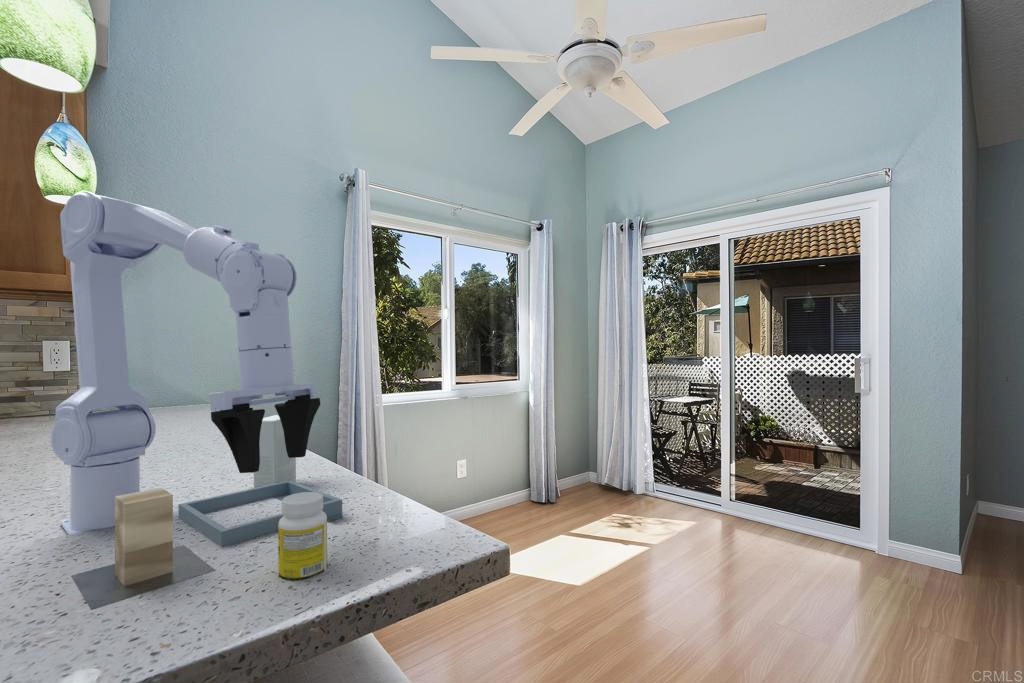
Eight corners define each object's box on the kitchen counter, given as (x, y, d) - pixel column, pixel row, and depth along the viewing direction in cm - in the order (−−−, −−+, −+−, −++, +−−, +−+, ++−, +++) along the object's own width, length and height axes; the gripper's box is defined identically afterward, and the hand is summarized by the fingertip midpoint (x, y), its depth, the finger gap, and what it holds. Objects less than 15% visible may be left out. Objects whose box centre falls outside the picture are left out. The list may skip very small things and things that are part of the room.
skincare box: (274, 481, 88) (274, 414, 88) (296, 482, 87) (296, 415, 87) (252, 491, 82) (252, 419, 82) (275, 492, 81) (275, 420, 81)
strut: (114, 573, 51) (115, 496, 51) (161, 560, 54) (161, 487, 54) (124, 586, 48) (124, 504, 48) (172, 571, 51) (172, 494, 51)
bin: (178, 522, 68) (178, 504, 68) (290, 495, 79) (290, 480, 79) (221, 553, 57) (221, 531, 57) (342, 517, 69) (342, 499, 69)
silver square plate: (71, 583, 50) (71, 547, 50) (183, 551, 58) (183, 520, 58) (91, 618, 44) (91, 576, 44) (215, 577, 51) (215, 542, 51)
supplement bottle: (292, 566, 54) (292, 490, 54) (334, 567, 54) (334, 490, 54) (269, 588, 49) (269, 504, 49) (315, 589, 49) (315, 504, 49)
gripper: (243, 347, 51) (253, 479, 50) (332, 346, 65) (340, 450, 64) (190, 353, 53) (200, 480, 52) (287, 352, 67) (295, 452, 66)
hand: (274, 464), depth 58 cm, fingers open, 7 cm apart
